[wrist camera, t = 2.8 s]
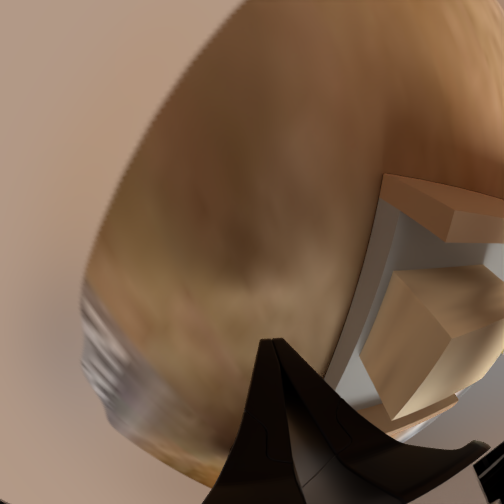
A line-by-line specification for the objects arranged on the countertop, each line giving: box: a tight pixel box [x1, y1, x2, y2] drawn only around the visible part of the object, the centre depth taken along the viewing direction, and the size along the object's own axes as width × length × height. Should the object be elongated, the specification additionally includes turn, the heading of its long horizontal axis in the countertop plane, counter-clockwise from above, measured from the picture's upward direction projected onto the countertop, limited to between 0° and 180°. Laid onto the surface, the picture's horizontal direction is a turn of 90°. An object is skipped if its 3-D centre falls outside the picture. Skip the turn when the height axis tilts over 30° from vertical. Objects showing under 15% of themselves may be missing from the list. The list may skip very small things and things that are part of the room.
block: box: [359, 264, 504, 421], centre depth 10 cm, size 7×5×4 cm
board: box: [324, 173, 504, 436], centre depth 13 cm, size 20×16×4 cm
